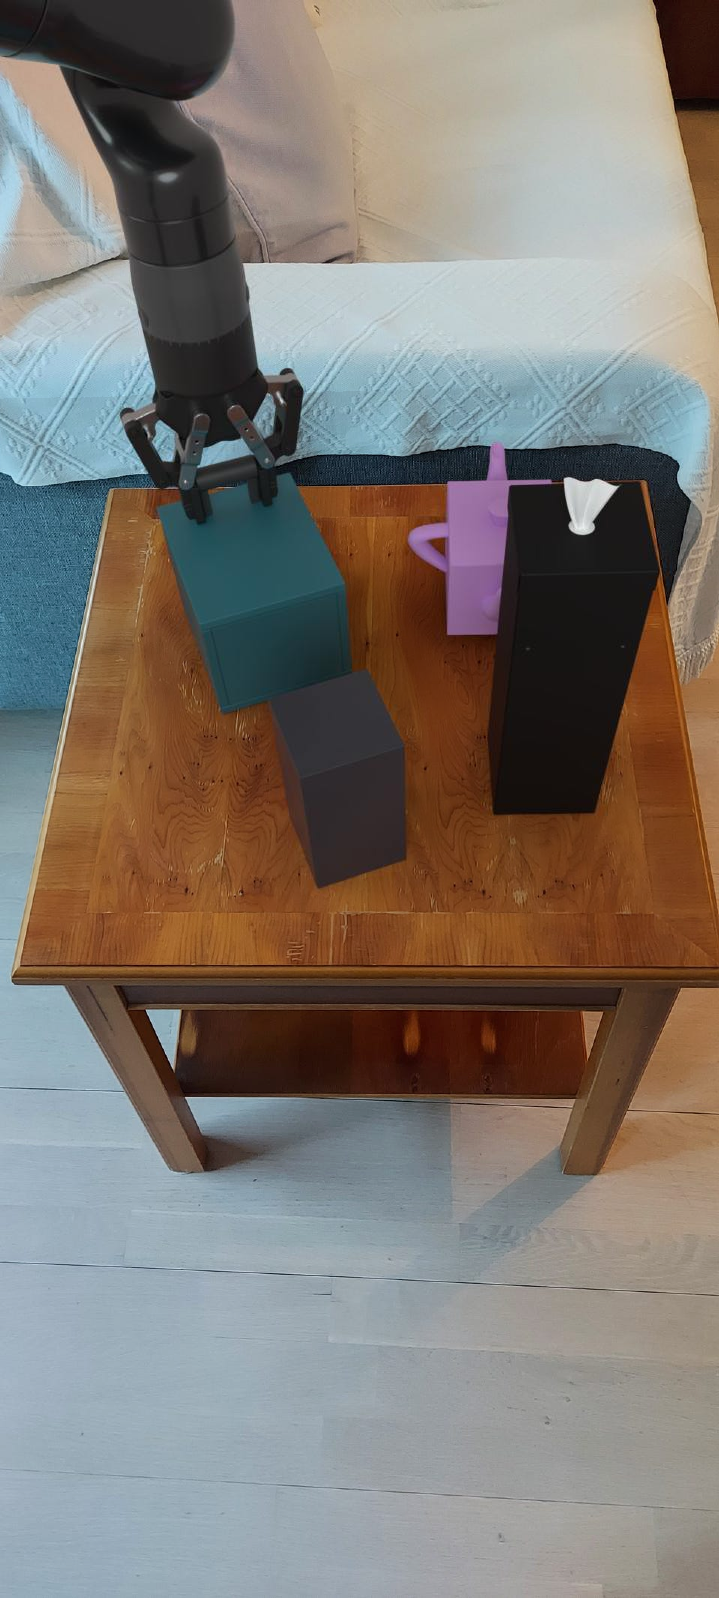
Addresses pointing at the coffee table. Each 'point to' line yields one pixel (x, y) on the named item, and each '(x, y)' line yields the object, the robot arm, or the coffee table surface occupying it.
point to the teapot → (472, 547)
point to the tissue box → (566, 640)
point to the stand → (342, 776)
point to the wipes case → (272, 649)
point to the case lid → (247, 547)
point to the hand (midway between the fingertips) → (231, 508)
